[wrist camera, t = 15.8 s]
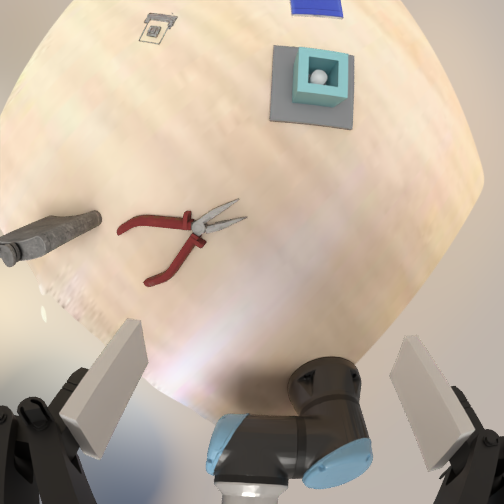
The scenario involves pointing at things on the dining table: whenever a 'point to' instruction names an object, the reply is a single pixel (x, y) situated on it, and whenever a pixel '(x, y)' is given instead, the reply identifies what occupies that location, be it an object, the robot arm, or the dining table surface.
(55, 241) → the flask
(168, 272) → the pliers
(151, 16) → the grey rectangular frame
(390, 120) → the dining table surface
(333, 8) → the hard drive
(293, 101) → the block with square hole
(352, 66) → the pin base
